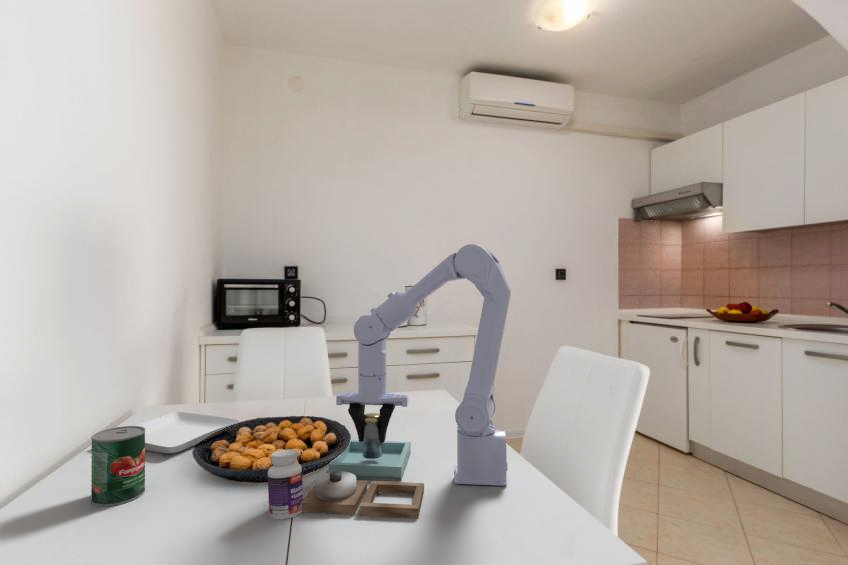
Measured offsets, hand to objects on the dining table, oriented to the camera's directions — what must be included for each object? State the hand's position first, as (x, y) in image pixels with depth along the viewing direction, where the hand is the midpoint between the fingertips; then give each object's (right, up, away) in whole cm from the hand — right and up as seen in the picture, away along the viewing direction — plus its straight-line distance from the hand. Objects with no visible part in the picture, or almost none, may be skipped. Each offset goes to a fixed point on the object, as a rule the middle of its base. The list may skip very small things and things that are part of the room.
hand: (372, 440), depth 95 cm
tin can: (0, -3, 0) cm, 3 cm away
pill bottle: (-12, -6, -19) cm, 23 cm away
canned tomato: (-43, -5, -14) cm, 45 cm away
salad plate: (-49, -6, +16) cm, 51 cm away
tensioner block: (+1, -5, -16) cm, 17 cm away
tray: (0, -5, 0) cm, 5 cm away
